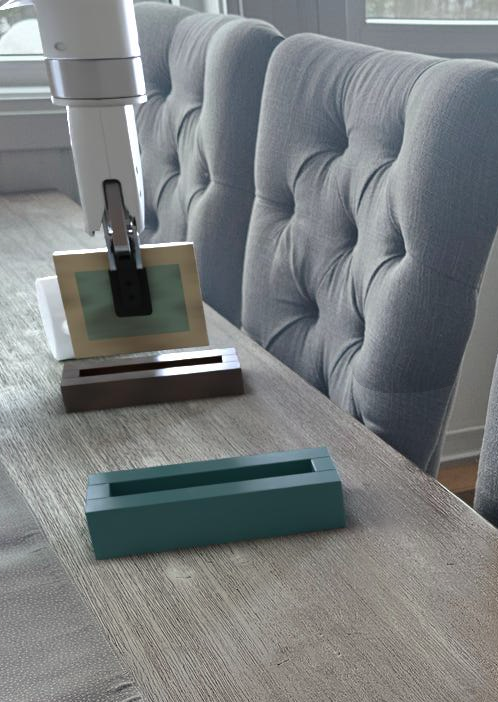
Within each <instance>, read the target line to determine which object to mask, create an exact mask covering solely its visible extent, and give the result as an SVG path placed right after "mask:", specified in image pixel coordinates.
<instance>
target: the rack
mask: <svg viewBox="0 0 498 702" xmlns="http://www.w3.org/2000/svg"><path fill="white" fill-rule="evenodd" d="M242 369H243V368H242V366H241V361H240V358H239V355H238V352H237V348H236V347H235V346H234V347H226V348H215V349H214V348H213V349H205V350H196V351H186V352H185V351H183V352H174V353H165V354H154V355H153V354H152V355H145V356H133V357H124V358H115V359H104V360H93V361H83V362H76V363H74V362H73V363H72V362H71V363H65V364H64V363H63V367H62V374H61V379H60V386H59V387H60V392H61V396H62V402H63V405H64V410H65V413H66V414H71V413H73V414H74V413H80V412H90V411H91V412H93V411H99V410H100V411H101V410H111V409H118V408H127V407H128V408H130V407H137V406H138V407H139V406H146V405H147V406H148V405H155V404H157V405H158V404H165V403H173V402H175V403H176V402H184V401H185V402H186V401H195V400H203V399H212V398H222V397H232V396H241V395H246V391H245V389H246V388H245V384H244V375H243V370H242Z"/></svg>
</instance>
